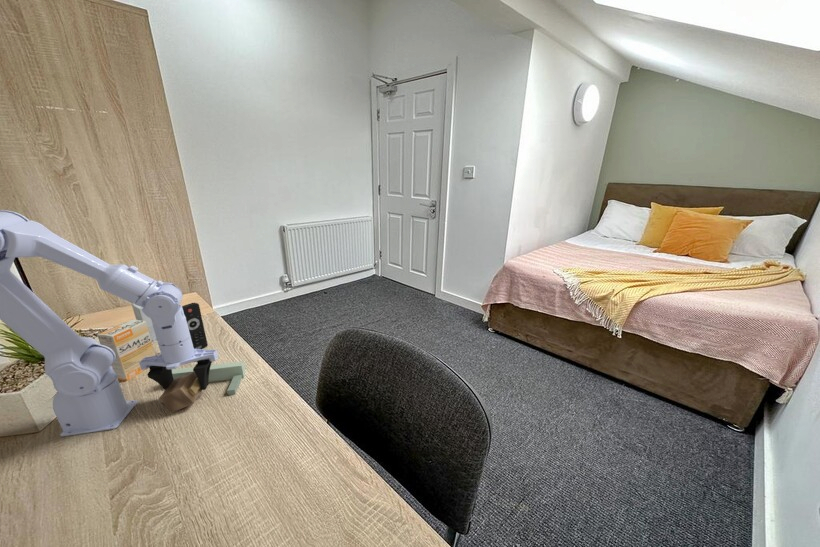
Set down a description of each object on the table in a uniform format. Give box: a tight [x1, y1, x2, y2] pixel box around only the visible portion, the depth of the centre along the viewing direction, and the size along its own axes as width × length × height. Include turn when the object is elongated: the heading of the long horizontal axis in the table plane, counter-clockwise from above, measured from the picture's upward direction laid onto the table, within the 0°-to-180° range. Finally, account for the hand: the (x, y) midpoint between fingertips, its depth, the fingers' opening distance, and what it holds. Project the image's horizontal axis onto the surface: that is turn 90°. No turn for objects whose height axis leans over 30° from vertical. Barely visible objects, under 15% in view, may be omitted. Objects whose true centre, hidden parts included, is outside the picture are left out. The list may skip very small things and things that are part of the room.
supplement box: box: [96, 319, 156, 382], centre depth 78 cm, size 8×5×13 cm, turn 168°
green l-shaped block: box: [172, 360, 247, 396], centre depth 74 cm, size 17×8×4 cm, turn 103°
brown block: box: [158, 371, 203, 413], centre depth 69 cm, size 4×6×6 cm
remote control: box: [182, 302, 208, 349], centre depth 87 cm, size 5×2×15 cm, turn 149°
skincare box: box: [131, 303, 157, 344], centre depth 93 cm, size 6×4×12 cm
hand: (188, 389), depth 71 cm, fingers closed on brown block, 6 cm apart
